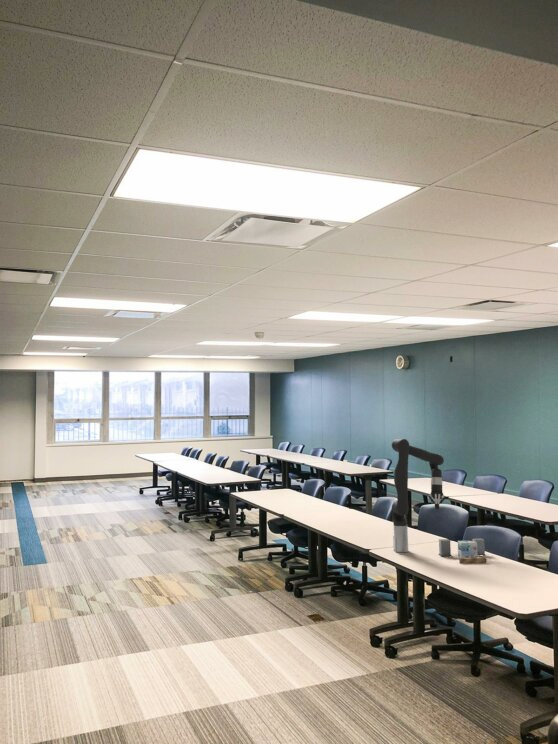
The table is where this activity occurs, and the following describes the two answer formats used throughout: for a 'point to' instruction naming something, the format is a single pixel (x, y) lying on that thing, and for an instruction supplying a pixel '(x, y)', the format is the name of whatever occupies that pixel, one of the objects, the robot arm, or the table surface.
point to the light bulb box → (467, 549)
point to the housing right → (480, 546)
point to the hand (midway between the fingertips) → (437, 509)
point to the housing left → (444, 548)
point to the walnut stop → (472, 560)
